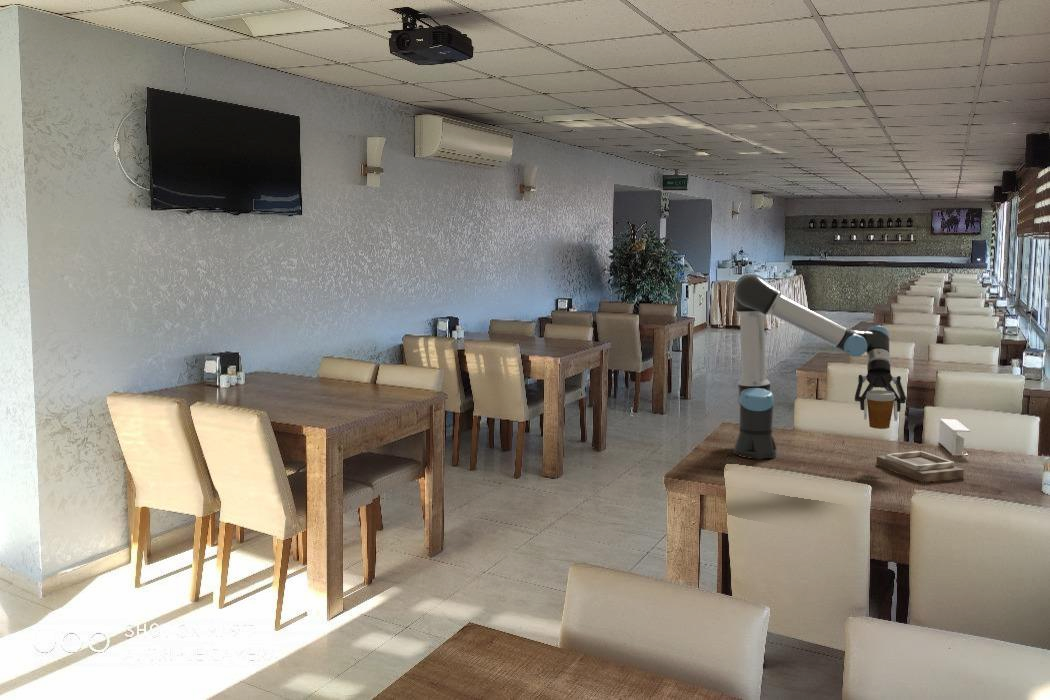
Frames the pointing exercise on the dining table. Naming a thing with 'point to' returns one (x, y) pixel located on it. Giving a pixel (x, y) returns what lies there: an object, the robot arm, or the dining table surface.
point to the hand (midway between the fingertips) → (880, 418)
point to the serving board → (921, 466)
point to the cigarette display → (952, 435)
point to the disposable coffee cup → (880, 408)
